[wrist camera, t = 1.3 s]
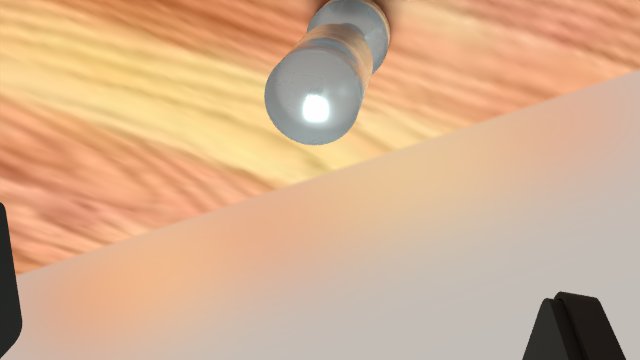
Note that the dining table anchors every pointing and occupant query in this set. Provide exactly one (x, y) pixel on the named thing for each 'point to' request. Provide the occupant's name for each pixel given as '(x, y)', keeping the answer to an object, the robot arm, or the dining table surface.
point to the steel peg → (328, 72)
